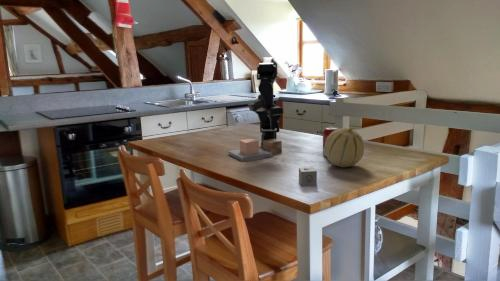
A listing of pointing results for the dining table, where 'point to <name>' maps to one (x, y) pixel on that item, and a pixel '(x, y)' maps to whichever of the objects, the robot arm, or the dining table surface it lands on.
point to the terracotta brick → (249, 146)
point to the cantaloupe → (344, 147)
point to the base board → (249, 155)
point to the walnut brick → (272, 145)
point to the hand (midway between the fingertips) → (267, 128)
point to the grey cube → (307, 176)
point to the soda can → (325, 135)
